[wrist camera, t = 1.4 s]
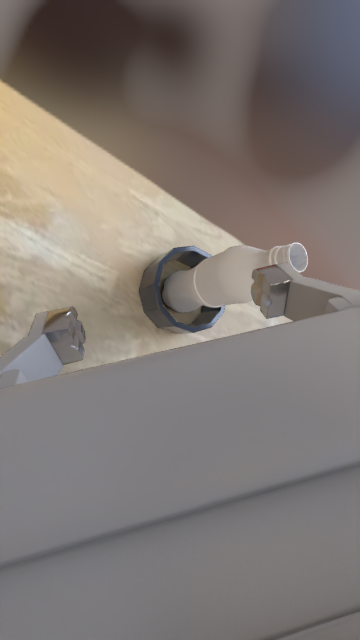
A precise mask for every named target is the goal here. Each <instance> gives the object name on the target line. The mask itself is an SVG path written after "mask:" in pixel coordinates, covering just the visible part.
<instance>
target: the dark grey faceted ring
mask: <svg viewBox="0 0 360 640" xmlns="http://www.w3.org/2000/svg"><path fill="white" fill-rule="evenodd" d="M210 257H212V255H210V254H208V253H207V252H205V251H203V250H201V249H199V248H197V247H195V246H187V247H177V248H173V249H172V250H170V251H168V252H167V253H165V254H164V255H162V256H160V257H159V258H157V259H156V260H155V261H154V262H153V263H152V264H151V265H150V266H148V267H147V268H146V269H145V271H144V273H143V277H142V280H141V284H140V288H139V294H140V298H141V302H142V306H143V311H144V313H145V314H146V315H147V316H148V317H149V318H150V320H151V321H152V322H153V323H154V324H155V325H156V326H157V327H158V328H160V329H163V330H167V331H170V332H173V333H194V332H198V331H201V330H204V329H208V328H211V327H212V326H213V325H214V324H215V322H216V321H217V320H218V319H219V318H220V316H221V315H222V314H223V312H224V309H225V305H224V306H221V307H217V308H212V307H207V306H204V305H202V309H201V313H200V314H199V315H198V317H197V318H196V319H195V320H194V321H193V322H192V323H191V325H185V324H182V323H179V322H176V320H175V319H174V318H173V317H172V316H171V315H170V313H169V312H168V311H167V310H166V309H165V307H164V306H163V303H162V299H161V294H160V290H159V286H158V284H159V280H160V276H161V272H162V268H163V265H164V264H165V263H166V262H167V261H172V260H177V261H179V262H181V263H183V264H185V265H187V266H190V267H191V268H194V267H196V266H197V265H198V264H199V263H201V262H202V261H203V260H205V259H207V258H210Z"/></svg>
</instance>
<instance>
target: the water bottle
mask: <svg viewBox="0 0 360 640" xmlns="http://www.w3.org/2000/svg"><path fill="white" fill-rule="evenodd" d="M282 262H286V263H288V264H289V265H290V266H291V267H293V268H294V269H295V270H296V271H297V272H298V273H300V272H302V271H304V270H305V269H306V267H307V264H308V256H307V252H306V250H305V248H304V247H303V246H302V245H301V244H300V243H291V244H289V245H285V246H275V247H273V248H272V249H271V250H269V251H265V250H261V249H258V248H254V247H249V246H234V247H230V248H228V249H226V250H225V251H223V252H221V253H219V254H217V255H215V256H212V257H210V258H207V259H205V260H203V261H202V262H201V263H199V264H198V265H197V266H196V267H194V268H192V269H190V270H188V271H183V270H180V271H176V272H175V273H173V274H171V275H170V276H169V277H168V278H167V279H166V280H165V282H164V286H165V288H164V290H163V292H162V297H163V300H164V302H165V304H166V305H167V306H169V307H171V308H173V309H174V310H175V311H176V312H181V313H187V312H191V311H194V310H195V309H197V308H198V307H200V306H202V305H204V306H207V307H212V308H217V307H221V306H224V305H230V304H236V303H246V302H249V301H252V300H253V299H252V296H251V285H252V284H253V283H254V280H253V279H252V271H253V269H257V268H262V267H266V266H270V265H274V264H278V263H282Z"/></svg>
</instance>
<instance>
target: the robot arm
mask: <svg viewBox="0 0 360 640" xmlns="http://www.w3.org/2000/svg"><path fill="white" fill-rule="evenodd" d="M252 279H253V280H254V283H253V284H252V285H251V296H252V299H253V301H254V303H255V304H256V305H258V306H260V311H261V312H262V314H263V315H264V316H265V318H266V319H268V318H273V317H278V316H283V315H284V316H285V317H287V318H289V319H291V320H293V322H289V323H284V324H280V325H275V326H271V327H267V328H262V329H258V330H254V331H249V332H245V333H240V334H236V335H232V336H227V337H223V338H218V339H214V340H210V341H205V342H201V343H197V344H192V345H188V346H183V347H179V348H175V349H170V350H166V351H161V352H157V353H153V354H148V355H144V356H139V357H135V358H131V359H126V360H122V361H118V362H113V363H109V364H104V365H100V366H96V367H91V368H87V369H82V370H78V371H74V372H69V373H65V374H61V375H57V374H58V373H59V371H60V370H61V369H62V367H63V365H65V364H69V363H73V362H77V361H81V360H83V358H84V347H83V344H84V343H85V339H86V337H85V330H84V327H83V325H82V322H80V321H79V320H77V316H78V313H77V311H76V309H75V308H74V307H73V306H72V307H67V308H62V309H56V310H51V311H45V312H41V313H37V314H36V315H35V318H34V321H33V323H32V326H31V329H30V331H29V334H28V337H26V338H23V339H22V340H21V341H19V342H18V343H17V344H16V345H14V346H13V347H12V348H11V349H10V350H8V351H7V352H6V353H5V354H3V355H2V356H1V357H0V640H360V291H358V290H354V289H350V288H347V287H343V286H339V285H335V284H332V283H327V282H324V281H320V280H316V279H313V278H309V277H307V278H304V277H303V276H302V275H301V274H299V273H298V272H297V271H296V270H295V269H294V268H293V267H291V266H290V265H289V264H288V263H286V262H282V263H278V264H274V265H270V266H266V267H262V268H257V269H253V271H252Z"/></svg>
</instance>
